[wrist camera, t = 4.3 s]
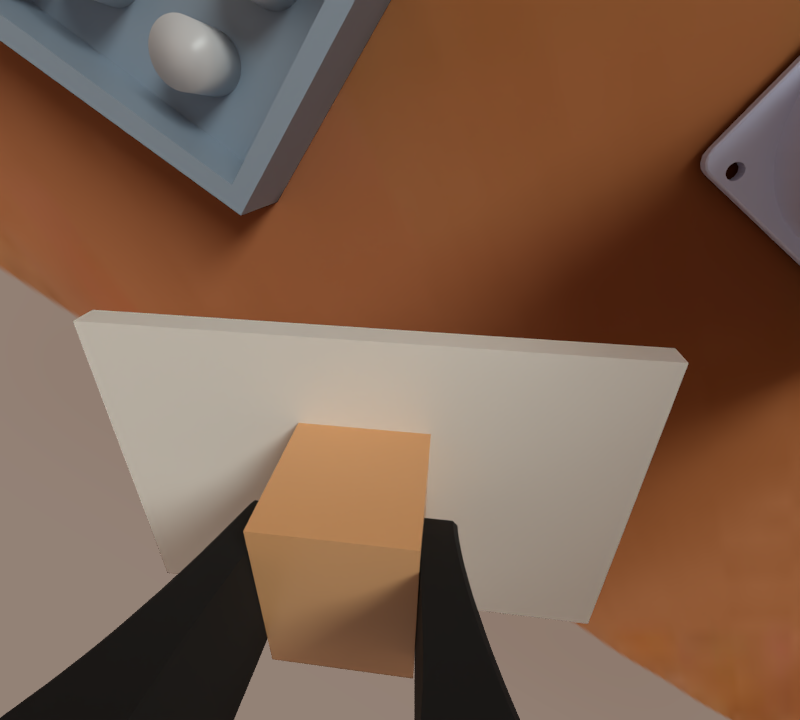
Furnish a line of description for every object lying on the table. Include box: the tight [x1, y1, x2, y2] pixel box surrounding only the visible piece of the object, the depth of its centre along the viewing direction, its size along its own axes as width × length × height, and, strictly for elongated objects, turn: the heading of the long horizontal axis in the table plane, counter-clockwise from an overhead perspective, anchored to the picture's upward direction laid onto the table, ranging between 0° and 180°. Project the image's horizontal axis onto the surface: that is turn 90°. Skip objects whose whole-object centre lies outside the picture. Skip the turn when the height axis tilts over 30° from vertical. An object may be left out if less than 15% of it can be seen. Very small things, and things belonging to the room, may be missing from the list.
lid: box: [73, 310, 689, 678], centre depth 10 cm, size 12×8×4 cm
